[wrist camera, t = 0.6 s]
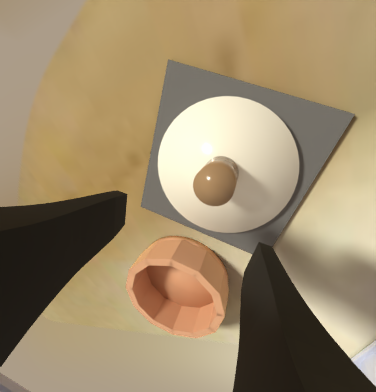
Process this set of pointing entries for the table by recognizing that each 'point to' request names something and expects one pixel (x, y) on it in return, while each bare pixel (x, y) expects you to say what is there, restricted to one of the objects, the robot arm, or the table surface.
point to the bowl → (179, 286)
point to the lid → (228, 164)
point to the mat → (275, 101)
